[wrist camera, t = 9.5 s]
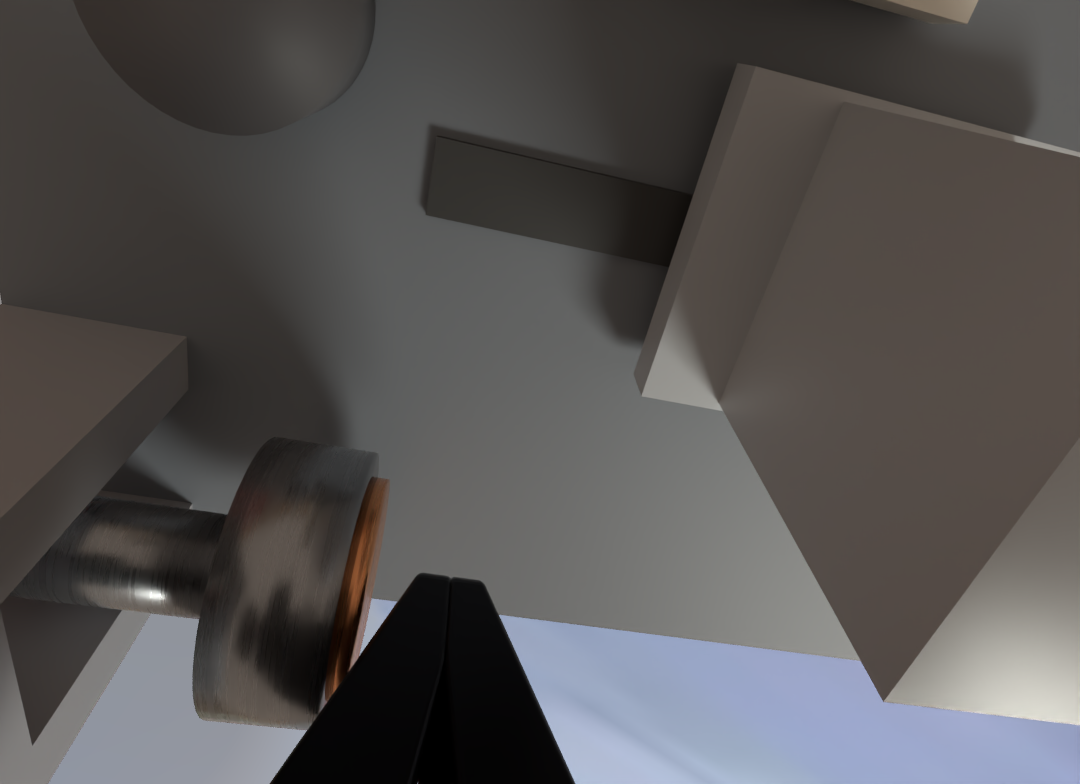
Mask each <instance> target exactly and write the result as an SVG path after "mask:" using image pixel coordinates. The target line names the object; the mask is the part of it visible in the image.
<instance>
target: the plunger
mask: <svg viewBox="0 0 1080 784" xmlns="http://www.w3.org/2000/svg"><path fill="white" fill-rule="evenodd" d="M378 473H379V455H378V453H376V452H370V451H363V450H357V449H351V448H345V447H338V446H332V445H326V444H320V443H313V442H307V441H301V440H295V439H288V438H282V437H273V438H271V439H269V440H268V441H267V442H266V443H265V444H264V445H263V446H262V447H261V448H260V450H259V451H258V452H257V454H256V455H255V457H254V458H253V460H252V462H251V463H250V465H249V467H248V469H247V471H246V473H245V475H244V477H243V479H242V481H241V483H240V485H239V487H238V490H237V492H236V495H235V497H234V499H233V502H232V504H231V507H230V509H229V512H228V514H222V513H215V512H208V511H200V510H193V509H186V508H179V507H172V506H165V505H158V504H151V503H144V502H137V501H130V500H123V499H116V498H109V497H102V496H95V497H94V498H93V499H92V500H91V502H90V503H89V504H88V505H87V506H86V507H85V508H84V510H83V511H82V512H81V513H80V514H79V515H78V516H77V518H76V519H75V520H74V521H73V522H72V523H71V524H70V526H69V527H68V528H67V529H66V530H65V531H64V532H63V534H62V535H61V536H60V537H59V538H58V539H57V540H56V542H55V543H54V544H53V545H52V546H51V547H50V548H49V550H48V551H47V552H46V553H45V554H44V555H43V556H42V558H41V559H40V560H39V561H38V562H37V563H36V564H35V566H34V567H33V568H32V569H31V570H30V571H29V572H28V574H27V575H26V576H25V577H24V578H23V579H22V580H21V582H20V583H19V584H18V585H17V586H16V587H15V589H14V590H13V591H12V592H11V593H10V594H9V595H8V596H9V597H17V598H26V599H34V600H42V601H51V602H59V603H68V604H76V605H84V606H93V607H101V608H110V609H118V610H126V611H135V612H143V613H152V614H160V615H168V616H177V617H186V618H194V619H199V624H198V630H197V636H196V644H195V652H194V663H193V699H194V705H195V709H196V712H197V714H198V716H199V718H201V719H202V720H206V721H217V722H227V723H237V724H248V725H257V726H268V727H278V728H288V729H299V730H308V729H309V727H310V726H311V724H312V723H313V721H314V720H315V719H316V717H317V716H318V714H319V713H320V711H321V710H322V709H323V707H324V706H325V704H326V703H327V702H328V700H329V699H330V697H331V696H332V694H333V693H334V692H335V690H336V689H337V687H338V686H339V684H340V683H341V682H342V680H343V679H344V677H345V676H346V674H347V673H348V672H349V670H350V669H351V667H352V666H353V665H354V663H355V662H356V660H357V659H358V657H359V654H360V649H361V645H362V641H363V636H364V632H365V627H366V622H367V618H368V613H369V608H370V603H371V598H372V593H373V588H374V583H375V578H376V573H377V567H378V562H379V556H380V551H381V545H382V539H383V533H384V527H385V521H386V514H387V507H388V499H389V489H390V480H389V479H385V478H378Z"/></svg>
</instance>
